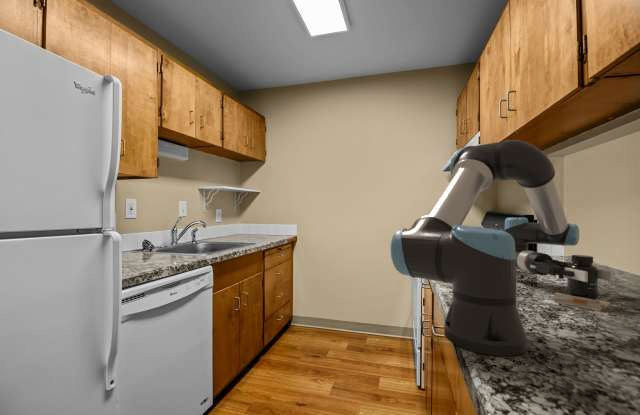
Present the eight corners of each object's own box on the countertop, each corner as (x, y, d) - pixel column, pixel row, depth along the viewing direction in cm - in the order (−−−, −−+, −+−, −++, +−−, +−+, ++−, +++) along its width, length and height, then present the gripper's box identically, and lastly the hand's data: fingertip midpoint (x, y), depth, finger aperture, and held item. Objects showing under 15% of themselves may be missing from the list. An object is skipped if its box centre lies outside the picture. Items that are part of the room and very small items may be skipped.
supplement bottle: (598, 302, 84) (597, 258, 84) (566, 297, 89) (566, 256, 89) (598, 296, 89) (597, 255, 89) (568, 292, 94) (567, 253, 94)
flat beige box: (598, 311, 82) (598, 301, 82) (554, 302, 90) (554, 293, 90) (610, 304, 87) (610, 295, 87) (567, 296, 96) (567, 288, 96)
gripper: (562, 273, 107) (633, 289, 84) (508, 273, 106) (565, 290, 83) (562, 251, 108) (632, 262, 85) (508, 252, 106) (564, 263, 83)
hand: (599, 276), depth 84 cm, fingers closed on supplement bottle, 7 cm apart
